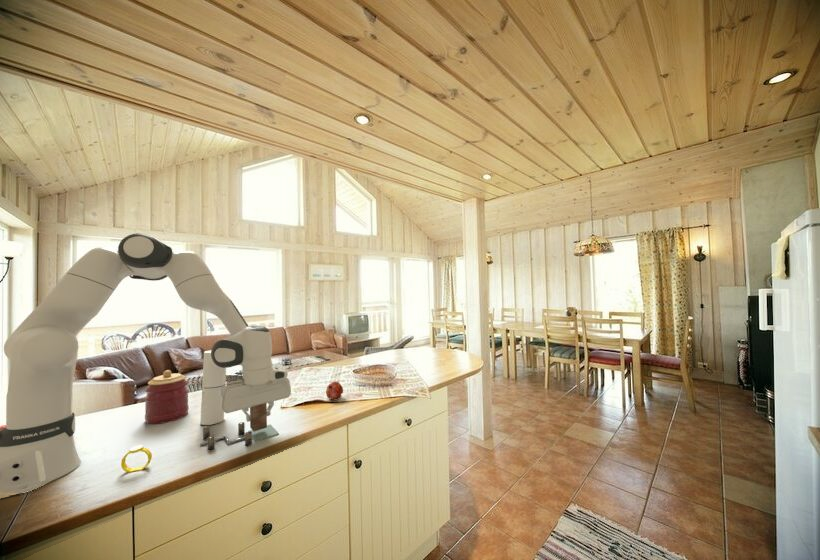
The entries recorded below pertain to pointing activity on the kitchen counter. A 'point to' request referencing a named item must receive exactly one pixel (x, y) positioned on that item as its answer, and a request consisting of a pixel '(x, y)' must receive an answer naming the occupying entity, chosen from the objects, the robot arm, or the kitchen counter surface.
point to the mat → (264, 433)
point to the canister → (166, 398)
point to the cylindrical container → (212, 391)
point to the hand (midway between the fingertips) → (258, 418)
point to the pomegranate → (334, 390)
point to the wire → (225, 440)
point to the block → (258, 417)
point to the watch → (134, 450)
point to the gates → (212, 438)
